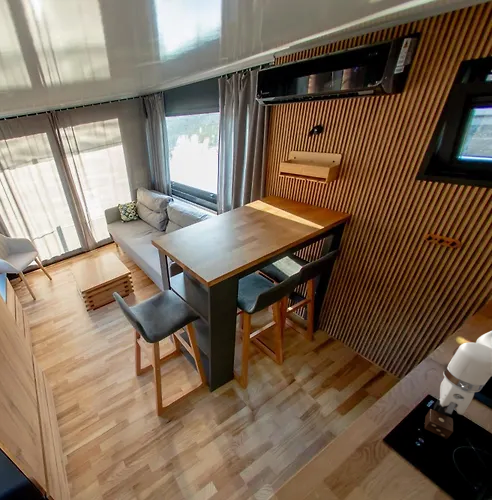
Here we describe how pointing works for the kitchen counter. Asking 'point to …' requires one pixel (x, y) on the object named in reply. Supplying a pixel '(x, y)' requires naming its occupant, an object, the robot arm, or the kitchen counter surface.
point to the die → (439, 423)
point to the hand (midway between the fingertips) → (440, 411)
